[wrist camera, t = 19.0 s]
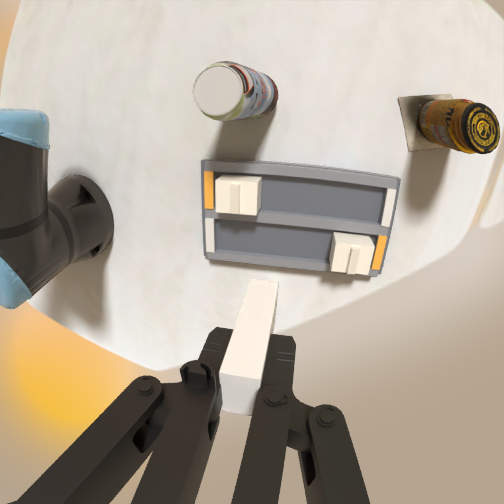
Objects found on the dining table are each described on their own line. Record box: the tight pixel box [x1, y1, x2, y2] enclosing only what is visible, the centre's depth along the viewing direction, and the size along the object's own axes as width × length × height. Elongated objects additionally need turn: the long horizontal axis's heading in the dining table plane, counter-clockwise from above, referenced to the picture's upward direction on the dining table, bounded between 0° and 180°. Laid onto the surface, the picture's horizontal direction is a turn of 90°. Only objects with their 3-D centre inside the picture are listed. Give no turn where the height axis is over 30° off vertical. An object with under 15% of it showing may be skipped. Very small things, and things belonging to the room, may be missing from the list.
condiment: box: [398, 94, 500, 154], centre depth 24 cm, size 7×8×12 cm
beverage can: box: [193, 61, 278, 121], centre depth 27 cm, size 6×7×12 cm
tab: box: [329, 231, 375, 275], centre depth 36 cm, size 5×4×4 cm
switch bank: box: [201, 159, 401, 277], centre depth 37 cm, size 26×14×2 cm, turn 88°
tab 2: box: [215, 174, 262, 215], centre depth 35 cm, size 5×4×4 cm
